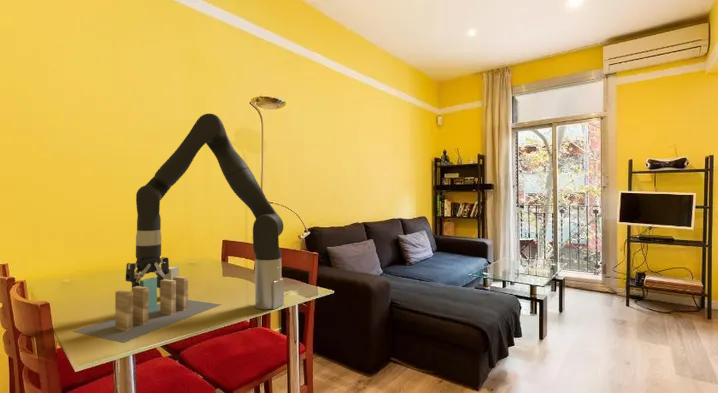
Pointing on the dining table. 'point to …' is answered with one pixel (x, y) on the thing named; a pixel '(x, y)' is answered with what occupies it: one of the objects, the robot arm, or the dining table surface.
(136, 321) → the domino
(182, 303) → the domino
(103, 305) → the dining table surface
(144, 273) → the robot arm
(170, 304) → the domino
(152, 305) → the domino
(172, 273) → the skincare box
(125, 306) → the domino
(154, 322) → the mat
